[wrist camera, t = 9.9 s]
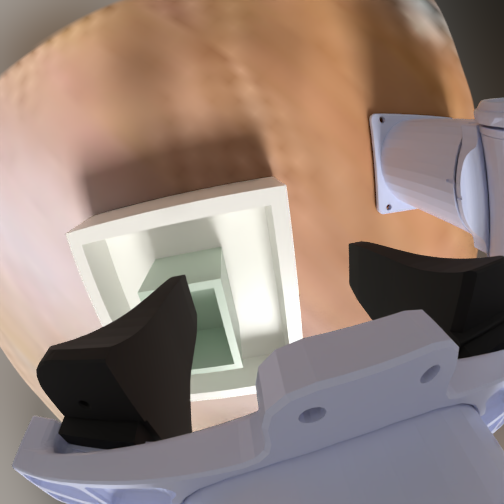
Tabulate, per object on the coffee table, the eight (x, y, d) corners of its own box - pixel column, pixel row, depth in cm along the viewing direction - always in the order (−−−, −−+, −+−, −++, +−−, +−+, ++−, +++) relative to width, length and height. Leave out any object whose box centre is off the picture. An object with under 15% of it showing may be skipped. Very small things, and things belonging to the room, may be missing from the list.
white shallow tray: (273, 176, 20) (286, 185, 15) (294, 349, 26) (305, 383, 21) (93, 215, 19) (65, 233, 15) (154, 370, 25) (146, 403, 21)
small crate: (221, 246, 20) (220, 278, 15) (239, 325, 23) (243, 367, 18) (155, 259, 20) (137, 292, 15) (180, 334, 23) (173, 376, 18)
